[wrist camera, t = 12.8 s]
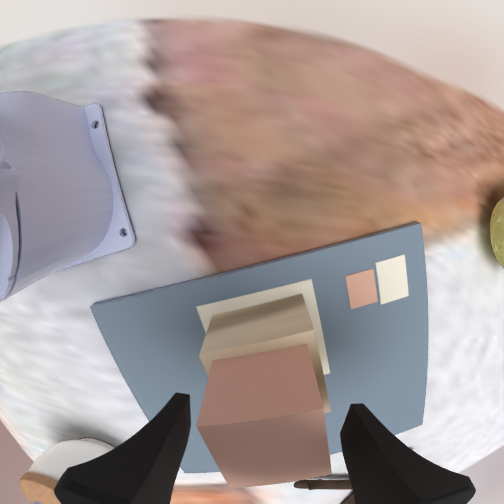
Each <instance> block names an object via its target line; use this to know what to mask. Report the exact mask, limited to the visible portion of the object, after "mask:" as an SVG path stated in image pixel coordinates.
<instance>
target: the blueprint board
mask: <svg viewBox="0 0 504 504" xmlns="http://www.w3.org/2000/svg"><path fill="white" fill-rule="evenodd" d="M298 294H302V295H303V298H304V301H305V304H306V306H307V309H308V312H309V315H310V318H311V321H312V324H313V327H314V331H315V336H316V340H317V345H318V349H319V354H320V359H321V364H322V368H323V373H324V378H325V383H326V388H327V393H328V398H329V404H330V409H331V412H329V413H325V414H324V416H325V424H326V431H327V439H328V447H329V455H330V454H334V453H338V452H342V447H341V439H340V431H341V429H342V426H343V424H344V421H345V418H346V416H347V413H348V410H349V408H350V405H351V404H357V403H363V404H364V405H365V406H366V407H367V408H368V409H369V410H370V411H371V412H372V413H373V414H374V415H375V416H376V418H377V419H378V420H379V421H380V422H381V423H382V424H383V425H384V426H385V427H386V428H387V429H388V430H389V431H390V432H391V433H392V434H393V435H396V434H399V433H402V432H404V431H407V430H410V429H412V428H415V427H417V426H420V425H422V423H423V414H424V405H425V395H426V382H427V365H428V295H427V278H426V264H425V254H424V244H423V236H422V228H421V223H418V222H414V223H410V224H407V225H403V226H399V227H396V228H392V229H388V230H384V231H381V232H377V233H373V234H369V235H366V236H362V237H358V238H354V239H351V240H347V241H343V242H339V243H335V244H332V245H328V246H324V247H320V248H316V249H312V250H309V251H305V252H301V253H297V254H293V255H289V256H285V257H281V258H278V259H274V260H270V261H266V262H262V263H258V264H254V265H250V266H246V267H242V268H238V269H234V270H230V271H226V272H222V273H218V274H214V275H210V276H206V277H202V278H198V279H194V280H190V281H186V282H182V283H178V284H174V285H170V286H165V287H161V288H157V289H153V290H149V291H145V292H141V293H137V294H132V295H128V296H124V297H120V298H116V299H111V300H107V301H103V302H99V303H95V304H93V305H92V306H91V307H90V308H91V310H92V313H93V315H94V317H95V320H96V322H97V324H98V327H99V329H100V331H101V333H102V335H103V337H104V340H105V342H106V344H107V346H108V348H109V350H110V352H111V354H112V356H113V358H114V360H115V362H116V364H117V366H118V368H119V370H120V372H121V373H122V375H123V377H124V379H125V381H126V383H127V385H128V386H129V388H130V390H131V392H132V393H133V395H134V397H135V399H136V400H137V402H138V404H139V405H140V407H141V409H142V410H143V412H144V414H145V415H146V417H147V419H148V420H149V422H150V421H151V420H152V419H153V418H154V417H155V416H156V414H157V413H158V412H159V411H160V410H161V409H162V408H163V407H164V406H165V405H166V403H167V402H168V401H169V400H170V399H171V397H172V396H173V395H174V394H175V393H176V392H177V393H184V394H190V410H191V428H190V434H189V439H188V444H187V447H186V450H185V453H184V456H183V459H182V462H181V464H180V467H181V469H182V470H183V471H184V473H207V472H221V471H220V469H219V468H218V466H217V464H216V462H215V461H214V459H213V457H212V455H211V453H210V451H209V450H208V448H207V446H206V444H205V442H204V440H203V438H202V436H201V434H200V432H199V430H198V428H197V422H198V418H199V414H200V410H201V405H202V401H203V397H204V393H205V389H206V385H207V381H208V375H207V373H206V371H205V368H204V366H203V364H202V361H201V359H200V357H199V354H200V351H201V348H202V345H203V342H204V339H205V336H206V333H207V330H208V327H209V324H210V321H211V318H212V315H216V314H221V313H225V312H229V311H234V310H238V309H242V308H246V307H250V306H254V305H259V304H263V303H267V302H271V301H275V300H279V299H282V298H286V297H290V296H294V295H298Z"/></svg>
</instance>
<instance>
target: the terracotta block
mask: <svg viewBox="0 0 504 504" xmlns="http://www.w3.org/2000/svg"><path fill="white" fill-rule="evenodd" d="M197 428H198V430H199V432H200V434H201V436H202V438H203V440H204V442H205V444H206V446H207V448H208V450H209V451H210V453H211V455H212V457H213V459H214V461H215V462H216V464H217V466H218V468H219V469H220V471H221V473H222V475H223V476H224V478H225V480H226V482H227V483H228V485H229V487H230V488H236V487H250V486H261V485H270V484H278V483H286V482H293V481H299V480H305V479H310V478H316V477H321V476H326V475H330V474H332V472H331V463H330V455H329V447H328V439H327V431H326V424H325V416H324V409H323V405H322V400H321V396H320V392H319V388H318V384H317V380H316V376H315V372H314V368H313V364H312V360H311V357H310V353H309V349H308V345H307V343H306V344H302V345H297V346H292V347H287V348H282V349H277V350H272V351H267V352H261V353H256V354H250V355H244V356H238V357H232V358H226V359H219V360H213V361H212V365H211V369H210V373H209V377H208V381H207V385H206V389H205V393H204V397H203V401H202V405H201V410H200V414H199V418H198V422H197Z"/></svg>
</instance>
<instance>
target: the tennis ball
mask: <svg viewBox="0 0 504 504" xmlns="http://www.w3.org/2000/svg"><path fill="white" fill-rule="evenodd" d="M490 239H491V245H492V248H493V251H494V254H495V256H496V259H497V260H498V261H499V262H500V264H501V265H502V266H503V268H504V197H503V198H502V199H501V200H500V201H499V202H498V203H497V205H496V206H495V207H494V210H493V212H492V215H491V220H490Z"/></svg>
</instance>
